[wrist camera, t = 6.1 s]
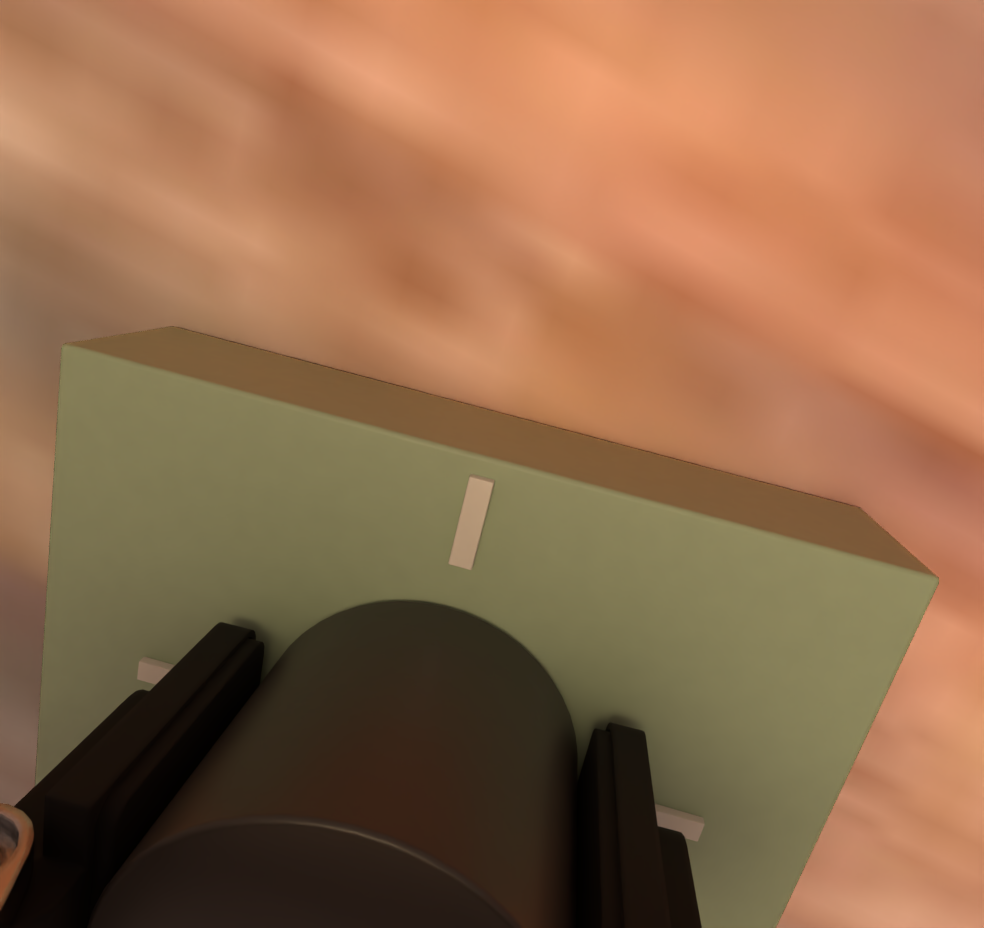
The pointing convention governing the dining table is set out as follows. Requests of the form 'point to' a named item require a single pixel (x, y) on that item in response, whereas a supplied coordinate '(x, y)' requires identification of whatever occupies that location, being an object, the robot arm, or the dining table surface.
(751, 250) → the dining table surface
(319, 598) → the dial panel
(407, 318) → the dining table surface
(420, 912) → the dial knob
